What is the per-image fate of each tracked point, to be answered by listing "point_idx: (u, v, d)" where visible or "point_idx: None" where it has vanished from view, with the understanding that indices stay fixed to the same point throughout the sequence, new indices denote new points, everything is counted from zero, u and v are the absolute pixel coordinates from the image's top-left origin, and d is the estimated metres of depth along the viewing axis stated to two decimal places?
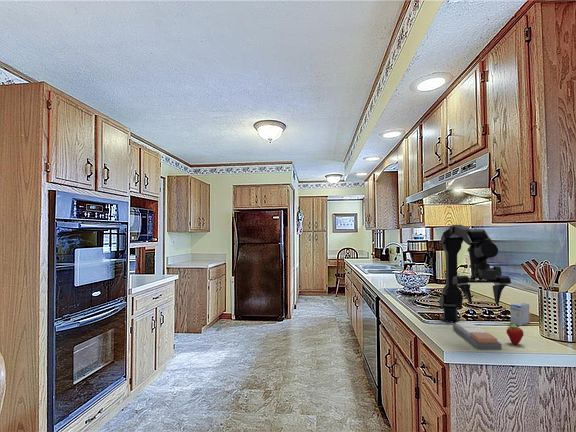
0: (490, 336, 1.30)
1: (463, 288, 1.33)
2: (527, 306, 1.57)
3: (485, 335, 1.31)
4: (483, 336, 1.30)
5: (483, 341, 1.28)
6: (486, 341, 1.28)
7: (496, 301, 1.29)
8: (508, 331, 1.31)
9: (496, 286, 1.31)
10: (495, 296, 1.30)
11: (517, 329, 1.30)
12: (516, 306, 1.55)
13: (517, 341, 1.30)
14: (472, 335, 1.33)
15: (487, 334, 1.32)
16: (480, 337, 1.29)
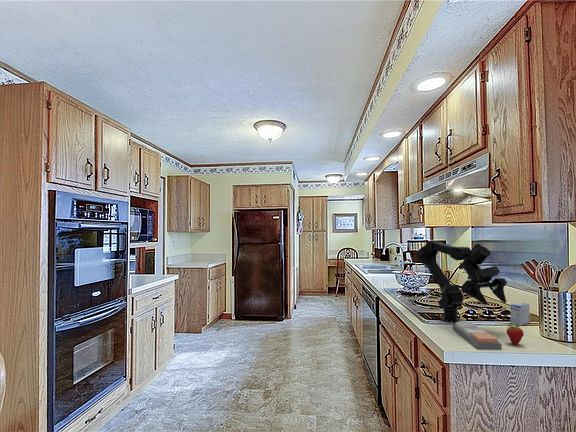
0: (490, 336, 1.30)
1: (473, 293, 1.42)
2: (527, 306, 1.57)
3: (485, 335, 1.31)
4: (483, 336, 1.30)
5: (483, 341, 1.28)
6: (486, 341, 1.28)
7: (503, 300, 1.41)
8: (508, 331, 1.31)
9: (497, 288, 1.45)
10: (500, 297, 1.43)
11: (517, 329, 1.30)
12: (516, 306, 1.55)
13: (517, 341, 1.30)
14: (472, 335, 1.33)
15: (487, 334, 1.32)
16: (480, 337, 1.29)
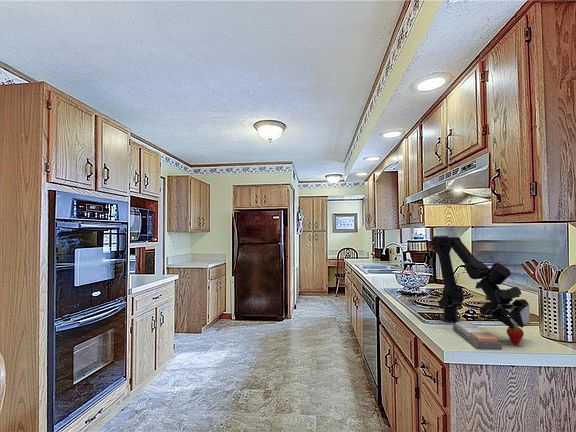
0: (490, 336, 1.30)
1: (498, 316, 1.34)
2: (527, 306, 1.57)
3: (485, 335, 1.31)
4: (483, 336, 1.30)
5: (483, 341, 1.28)
6: (486, 341, 1.28)
7: (520, 324, 1.31)
8: (508, 331, 1.31)
9: (513, 311, 1.35)
10: (517, 320, 1.33)
11: (517, 329, 1.30)
12: None
13: (517, 341, 1.30)
14: (472, 335, 1.33)
15: (487, 334, 1.32)
16: (480, 337, 1.29)
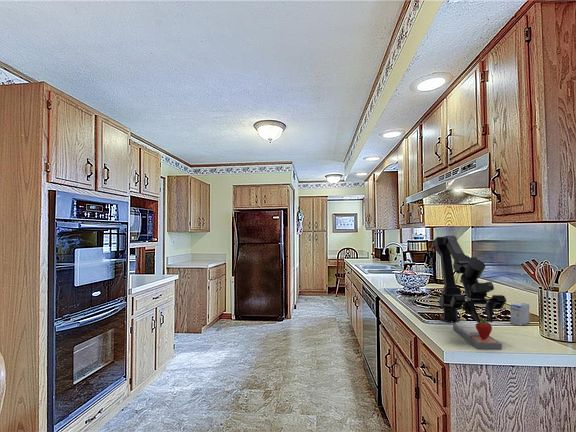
0: (490, 340, 1.30)
1: (468, 309, 1.35)
2: (527, 306, 1.57)
3: (485, 339, 1.31)
4: (483, 339, 1.30)
5: None
6: None
7: (490, 319, 1.30)
8: (476, 325, 1.32)
9: (487, 306, 1.34)
10: (488, 315, 1.32)
11: (484, 324, 1.29)
12: (516, 306, 1.55)
13: (484, 336, 1.30)
14: None
15: (487, 338, 1.32)
16: (480, 341, 1.29)
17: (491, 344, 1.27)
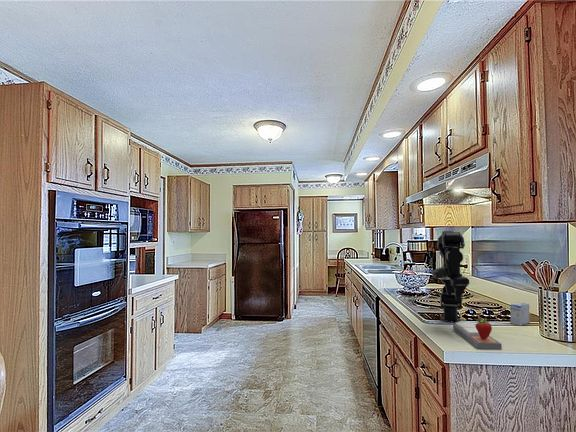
0: (490, 340, 1.30)
1: None
2: (527, 306, 1.57)
3: (485, 339, 1.31)
4: (483, 339, 1.30)
5: None
6: None
7: None
8: (476, 325, 1.32)
9: None
10: None
11: (484, 324, 1.30)
12: (516, 306, 1.55)
13: (484, 336, 1.30)
14: None
15: (487, 338, 1.32)
16: (480, 341, 1.29)
17: (491, 344, 1.27)
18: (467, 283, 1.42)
